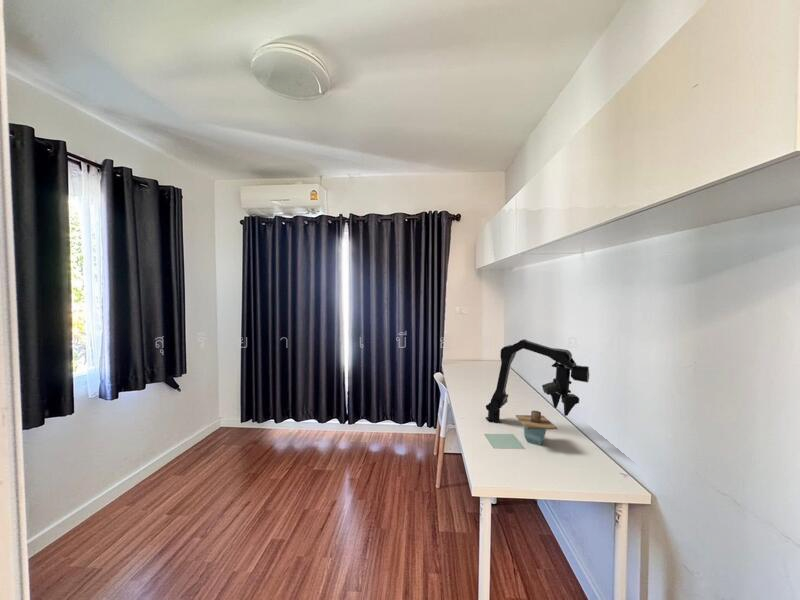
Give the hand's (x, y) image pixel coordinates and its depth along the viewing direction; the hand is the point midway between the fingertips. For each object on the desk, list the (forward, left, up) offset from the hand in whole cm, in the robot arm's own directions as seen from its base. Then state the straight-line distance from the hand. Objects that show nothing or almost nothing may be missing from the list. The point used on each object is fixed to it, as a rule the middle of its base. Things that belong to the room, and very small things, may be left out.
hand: (560, 411), depth 156 cm
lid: (+3, -13, -4) cm, 14 cm away
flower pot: (+3, -13, -13) cm, 19 cm away
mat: (+3, -27, -13) cm, 30 cm away
